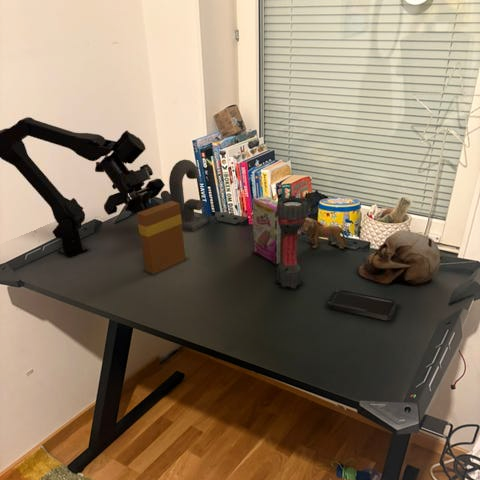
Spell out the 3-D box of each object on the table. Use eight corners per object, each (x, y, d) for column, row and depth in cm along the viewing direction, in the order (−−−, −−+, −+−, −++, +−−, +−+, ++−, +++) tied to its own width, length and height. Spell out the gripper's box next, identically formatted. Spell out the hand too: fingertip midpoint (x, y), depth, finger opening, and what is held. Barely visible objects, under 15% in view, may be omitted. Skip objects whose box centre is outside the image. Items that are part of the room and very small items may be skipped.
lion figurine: (300, 250, 145) (301, 221, 140) (299, 242, 149) (300, 214, 144) (350, 249, 144) (353, 220, 139) (347, 242, 148) (350, 214, 143)
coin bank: (353, 268, 133) (364, 222, 126) (408, 265, 138) (421, 220, 130) (381, 297, 121) (395, 248, 113) (441, 293, 125) (457, 245, 118)
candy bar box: (252, 252, 145) (251, 198, 136) (265, 247, 147) (265, 194, 138) (275, 265, 137) (275, 209, 128) (289, 260, 139) (290, 205, 130)
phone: (336, 289, 122) (397, 301, 116) (336, 292, 123) (397, 305, 116) (326, 303, 116) (390, 317, 110) (326, 307, 117) (389, 321, 111)
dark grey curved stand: (221, 216, 171) (217, 158, 160) (194, 231, 160) (188, 170, 149) (180, 207, 179) (174, 152, 168) (152, 222, 168) (144, 163, 157)
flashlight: (298, 294, 123) (301, 207, 110) (270, 288, 126) (270, 202, 114) (309, 281, 128) (314, 196, 116) (283, 275, 132) (284, 192, 119)
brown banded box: (145, 270, 137) (136, 213, 128) (177, 256, 144) (171, 200, 135) (153, 274, 135) (144, 216, 126) (185, 259, 142) (179, 203, 133)
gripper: (102, 165, 122) (138, 215, 122) (155, 148, 134) (189, 194, 135) (89, 190, 131) (123, 237, 131) (140, 173, 143) (171, 216, 143)
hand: (153, 220), depth 135 cm, fingers closed
